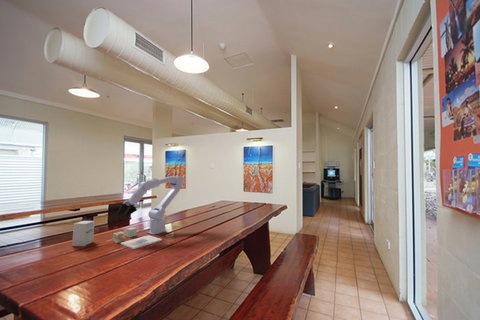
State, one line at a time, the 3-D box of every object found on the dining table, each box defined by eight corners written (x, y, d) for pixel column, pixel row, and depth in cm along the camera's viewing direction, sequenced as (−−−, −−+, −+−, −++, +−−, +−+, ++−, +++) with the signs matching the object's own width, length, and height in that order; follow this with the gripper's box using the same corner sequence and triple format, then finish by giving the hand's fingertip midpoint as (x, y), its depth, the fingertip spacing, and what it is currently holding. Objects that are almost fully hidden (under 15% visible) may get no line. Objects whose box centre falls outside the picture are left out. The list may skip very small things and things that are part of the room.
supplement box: (84, 246, 118) (85, 223, 119) (71, 246, 118) (72, 223, 119) (93, 242, 126) (94, 220, 126) (81, 241, 126) (82, 220, 126)
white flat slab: (148, 236, 137) (148, 235, 137) (161, 240, 130) (162, 239, 130) (120, 244, 122) (120, 242, 122) (133, 249, 114) (133, 247, 115)
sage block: (132, 234, 141) (132, 227, 141) (136, 235, 138) (136, 228, 139) (125, 236, 137) (126, 228, 137) (129, 237, 134) (129, 229, 135)
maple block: (120, 239, 130) (120, 231, 130) (124, 241, 128) (124, 232, 128) (112, 241, 126) (113, 233, 127) (116, 243, 124) (117, 234, 124)
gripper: (125, 192, 137) (110, 210, 130) (138, 195, 129) (123, 214, 122) (133, 198, 142) (119, 216, 134) (145, 201, 134) (131, 220, 126)
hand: (121, 216), depth 128 cm, fingers open, 7 cm apart
